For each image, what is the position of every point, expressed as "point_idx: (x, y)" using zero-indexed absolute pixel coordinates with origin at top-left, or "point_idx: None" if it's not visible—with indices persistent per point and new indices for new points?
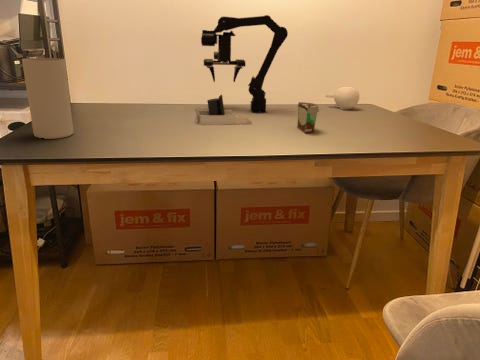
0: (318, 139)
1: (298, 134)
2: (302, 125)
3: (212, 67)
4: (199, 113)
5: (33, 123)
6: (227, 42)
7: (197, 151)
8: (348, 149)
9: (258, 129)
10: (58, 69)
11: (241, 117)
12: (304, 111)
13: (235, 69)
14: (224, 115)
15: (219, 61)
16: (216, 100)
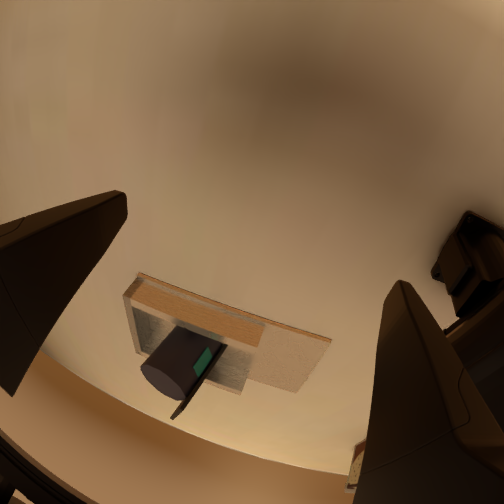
0: (346, 456)
1: (340, 444)
2: (362, 451)
3: (5, 382)
4: (137, 336)
5: None
6: None
7: (158, 414)
8: (344, 471)
9: (285, 413)
10: None
11: (302, 343)
12: (355, 479)
13: (376, 497)
14: (208, 382)
15: (18, 501)
16: (169, 396)
